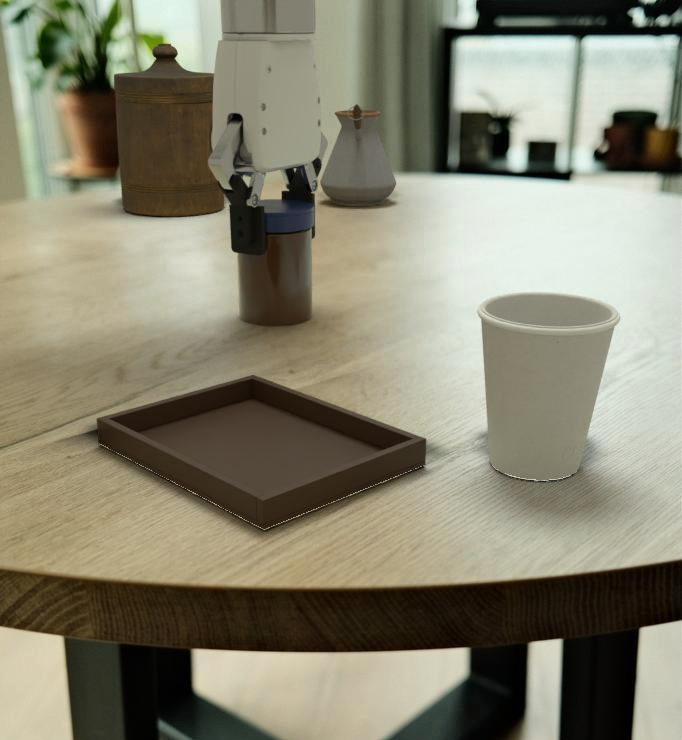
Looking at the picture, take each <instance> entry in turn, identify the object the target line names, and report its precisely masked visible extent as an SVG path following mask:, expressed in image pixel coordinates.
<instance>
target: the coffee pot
mask: <svg viewBox="0 0 682 740" xmlns="http://www.w3.org/2000/svg"><path fill="white" fill-rule="evenodd" d="M334 115H335V116H336V118H337V120H338V121H339V124H340V126H341V127H340V130H339V132H338V134H337V137H336V139H335V143H334V145H333V147H332V149H331V153H330V155H329V158H328V161H327V163H326V165H325V168H324V171H323V173H322V175H321V178H320V181H319V183H320V187H321V189H322V192H323V193H324V194H325V196H326V197H327V198H329V199H330V200H332V203H333V204H335V205H339V206H345V207H346V206H347V207H367V206H366V205H372V206H377V205H376V204H378V205H382V204H384V200H385V199H387V198H389V197H390V196H391V195H392V193H393V192H394V190H395V188H396V186H397V180H396V177H395V175H394V172H393V170H392V166H391V164H390V161H389V159H388V156H387V153H386V150H385V148H384V145H383V142H382V140H381V137H380V134H379V132H378V129H377V123H378V118H379V116H381V115H382V113H381V111H378V110H367V109H364V108H363V107H362V106H360V105H359V104H358V103H356V104H354V105H353V106H351V107H350V108H348V109H347V110H338V111H335V112H334ZM381 203H382V204H381Z"/></svg>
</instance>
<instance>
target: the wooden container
mask: <svg viewBox="0 0 682 740" xmlns="http://www.w3.org/2000/svg"><path fill="white" fill-rule="evenodd" d="M151 51H152V56H153V57H154V58H155V59H154V61H153V63H152V64H151V65H150V66H149V67H147V68H146V69H145V70H142V71H135V72H118V73H114V74H113V89H114V96H115V98H114V99H115V113H116V114H115V115H116V116H115V117H116V133H117V150H118V151H117V152H118V162H119V163H118V166H119V176H120V177H119V179H120V185H121V188H120V191H121V200H122V208H123V210H124V211H126V212H128V213H131V214H136V215H141V216H150V217H187V216H198V215H205V214H211V213H215V212H218V211H221V210H223V209H224V208H225V200H224V193H223V192H222V191H221V189H220V188H219V186H218V180H216V178H215V176H214V174H213V173H212V171H211V169H210V168H209V165H208V159H209V157H210V155H211V153H212V152H213V82H214V72H213V73H212V72H200V71H191V70H187V69H185V68H184V67H183V66H182V65H181V64H180V63H179V62H178V61H177V60H176V58H177V56H178V53H179V52H178V50H177V48H176V47H175V46H173V45H172V44H171V43H158V44H157V45H155V46H154V47H153V48H152V50H151Z"/></svg>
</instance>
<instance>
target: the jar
mask: <svg viewBox="0 0 682 740" xmlns="http://www.w3.org/2000/svg"><path fill="white" fill-rule="evenodd" d="M265 243H266V251H265V253H264V254H263V255H260V256H257V255H250V254H242V253H236V264H237V265H236V267H237V288H238V290H237V291H238V314H239V315H238V316H239V317H238V318H239V319H240V321H242V322H244V323H246V324H249V325H254V326H261V327H288V326H295V325H300V324H304V323H307V322H308V321H311V320H312V318H313V239H312V227H311V228H308V229H305V230H300V231H292V232H265Z"/></svg>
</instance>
